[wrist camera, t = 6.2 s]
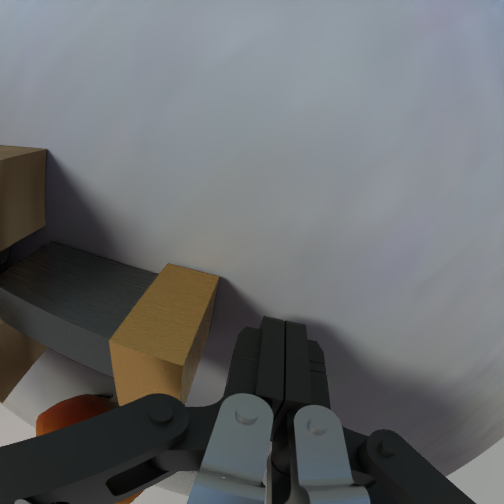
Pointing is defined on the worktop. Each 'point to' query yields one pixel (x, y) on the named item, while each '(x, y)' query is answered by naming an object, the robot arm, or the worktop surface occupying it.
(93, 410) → the fruit
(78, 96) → the worktop surface
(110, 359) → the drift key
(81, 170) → the worktop surface
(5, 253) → the peg
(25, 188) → the socket block
